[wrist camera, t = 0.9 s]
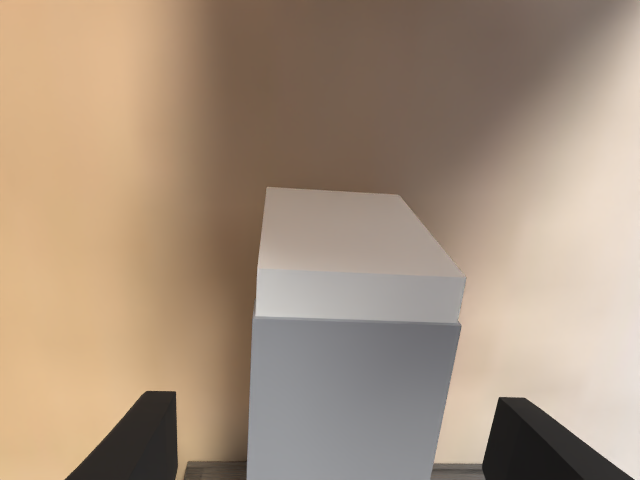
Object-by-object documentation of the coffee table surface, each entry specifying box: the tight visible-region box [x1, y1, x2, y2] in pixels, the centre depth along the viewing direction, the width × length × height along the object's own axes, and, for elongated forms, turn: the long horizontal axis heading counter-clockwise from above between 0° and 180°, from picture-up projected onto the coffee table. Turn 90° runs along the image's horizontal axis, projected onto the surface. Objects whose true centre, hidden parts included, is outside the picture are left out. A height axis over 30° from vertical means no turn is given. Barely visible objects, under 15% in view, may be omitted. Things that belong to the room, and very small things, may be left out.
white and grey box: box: [247, 187, 466, 480], centre depth 14 cm, size 4×8×6 cm, turn 176°
